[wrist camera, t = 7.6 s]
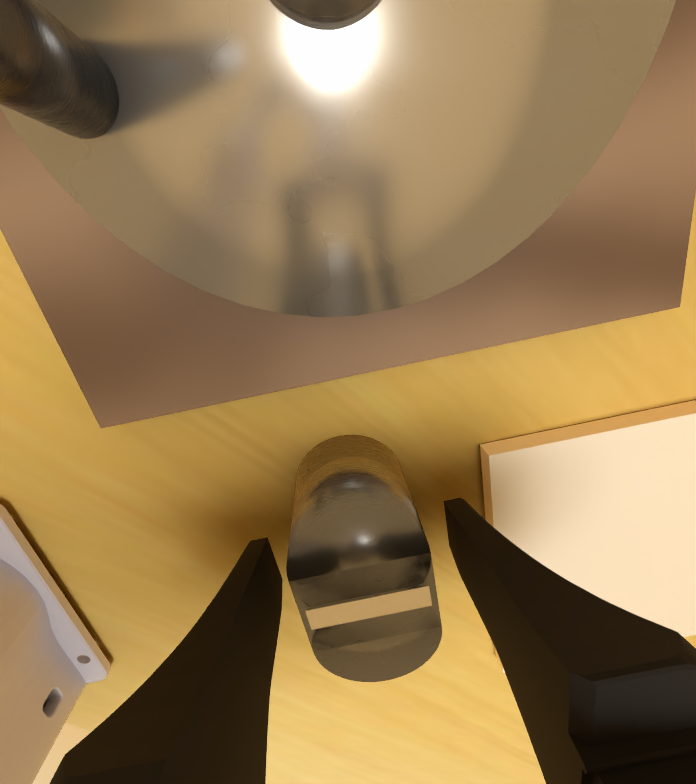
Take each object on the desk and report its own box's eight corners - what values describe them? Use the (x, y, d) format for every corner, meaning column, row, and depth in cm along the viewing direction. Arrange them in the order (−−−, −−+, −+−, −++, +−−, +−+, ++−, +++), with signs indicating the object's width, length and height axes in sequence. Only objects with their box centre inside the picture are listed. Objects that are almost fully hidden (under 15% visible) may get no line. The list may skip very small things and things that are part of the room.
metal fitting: (418, 568, 16) (449, 671, 12) (326, 587, 16) (327, 695, 12) (393, 424, 13) (422, 496, 9) (283, 447, 13) (268, 528, 9)
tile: (698, 615, 18) (714, 630, 17) (495, 655, 18) (502, 672, 17) (748, 388, 14) (773, 397, 13) (479, 444, 14) (488, 455, 13)
